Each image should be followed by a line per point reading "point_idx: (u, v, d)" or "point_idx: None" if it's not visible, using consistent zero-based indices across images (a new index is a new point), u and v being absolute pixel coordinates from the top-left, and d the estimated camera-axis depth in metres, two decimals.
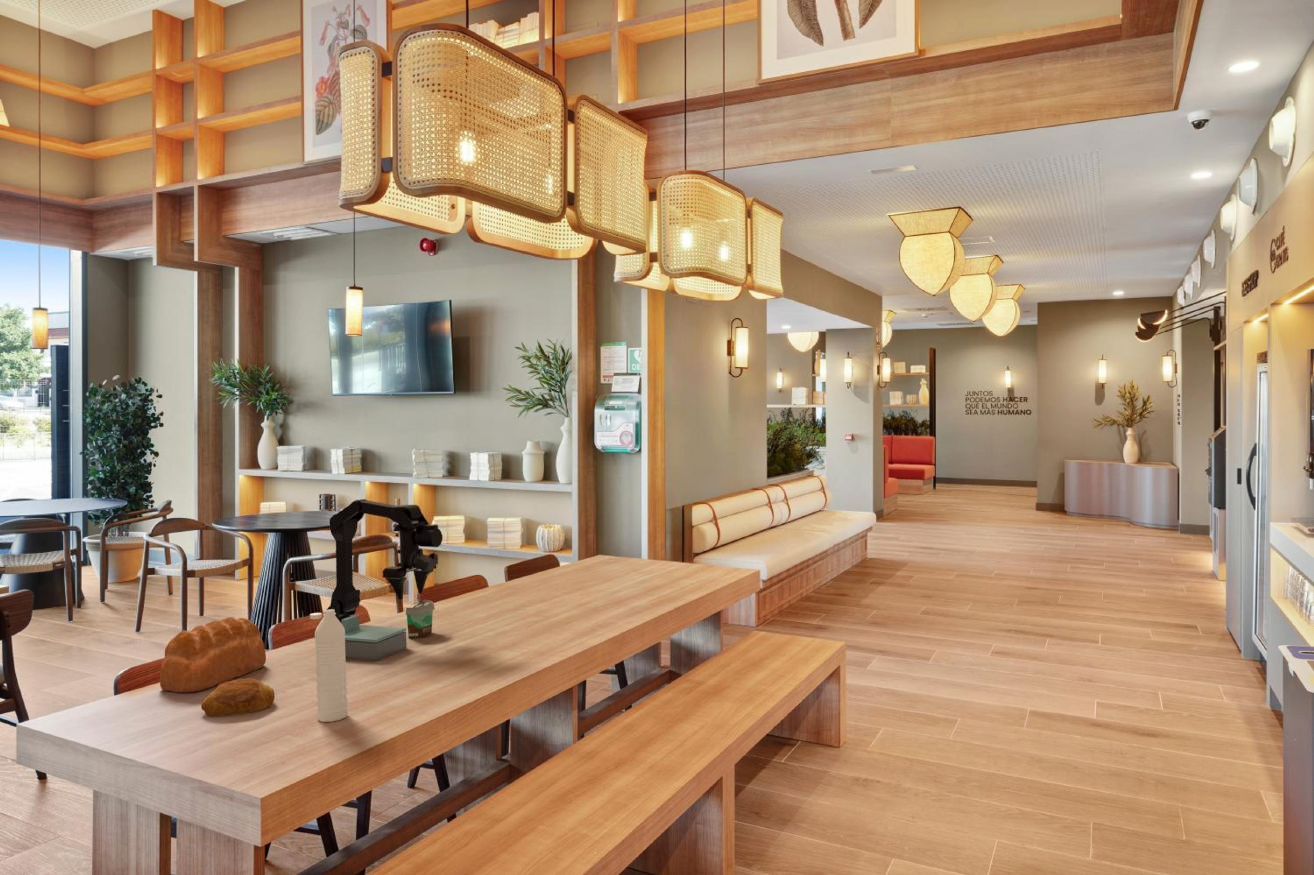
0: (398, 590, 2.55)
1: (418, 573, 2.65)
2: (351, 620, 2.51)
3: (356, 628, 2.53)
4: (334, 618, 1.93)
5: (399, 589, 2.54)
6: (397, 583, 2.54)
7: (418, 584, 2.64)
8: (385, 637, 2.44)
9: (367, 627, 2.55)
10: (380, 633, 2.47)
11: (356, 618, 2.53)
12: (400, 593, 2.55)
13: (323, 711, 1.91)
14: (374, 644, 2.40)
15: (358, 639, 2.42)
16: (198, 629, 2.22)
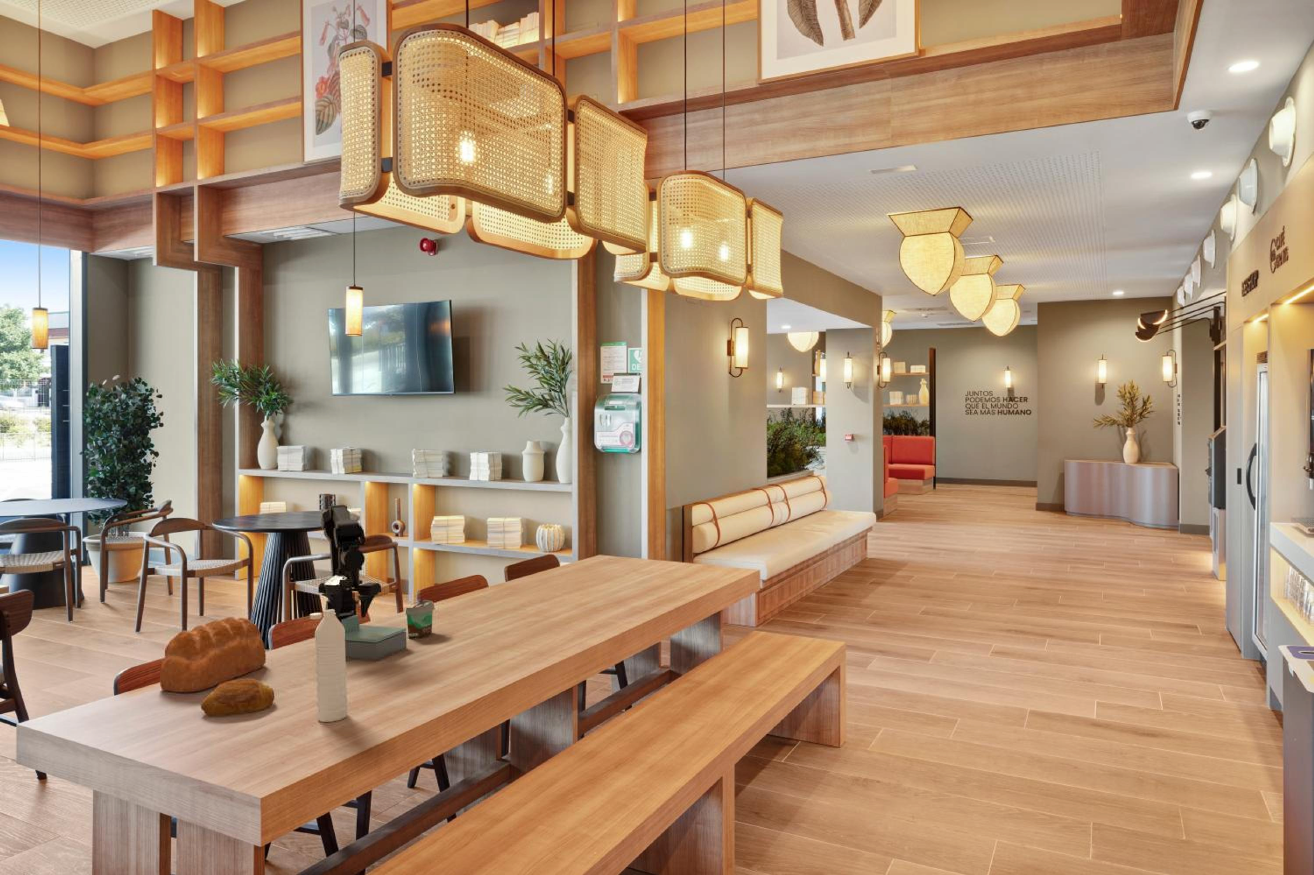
0: None
1: None
2: (351, 620, 2.51)
3: (356, 628, 2.53)
4: (334, 618, 1.93)
5: None
6: None
7: None
8: (385, 637, 2.44)
9: (367, 627, 2.55)
10: (380, 633, 2.47)
11: (356, 618, 2.53)
12: None
13: (323, 711, 1.91)
14: (374, 644, 2.40)
15: (358, 639, 2.42)
16: (198, 629, 2.22)
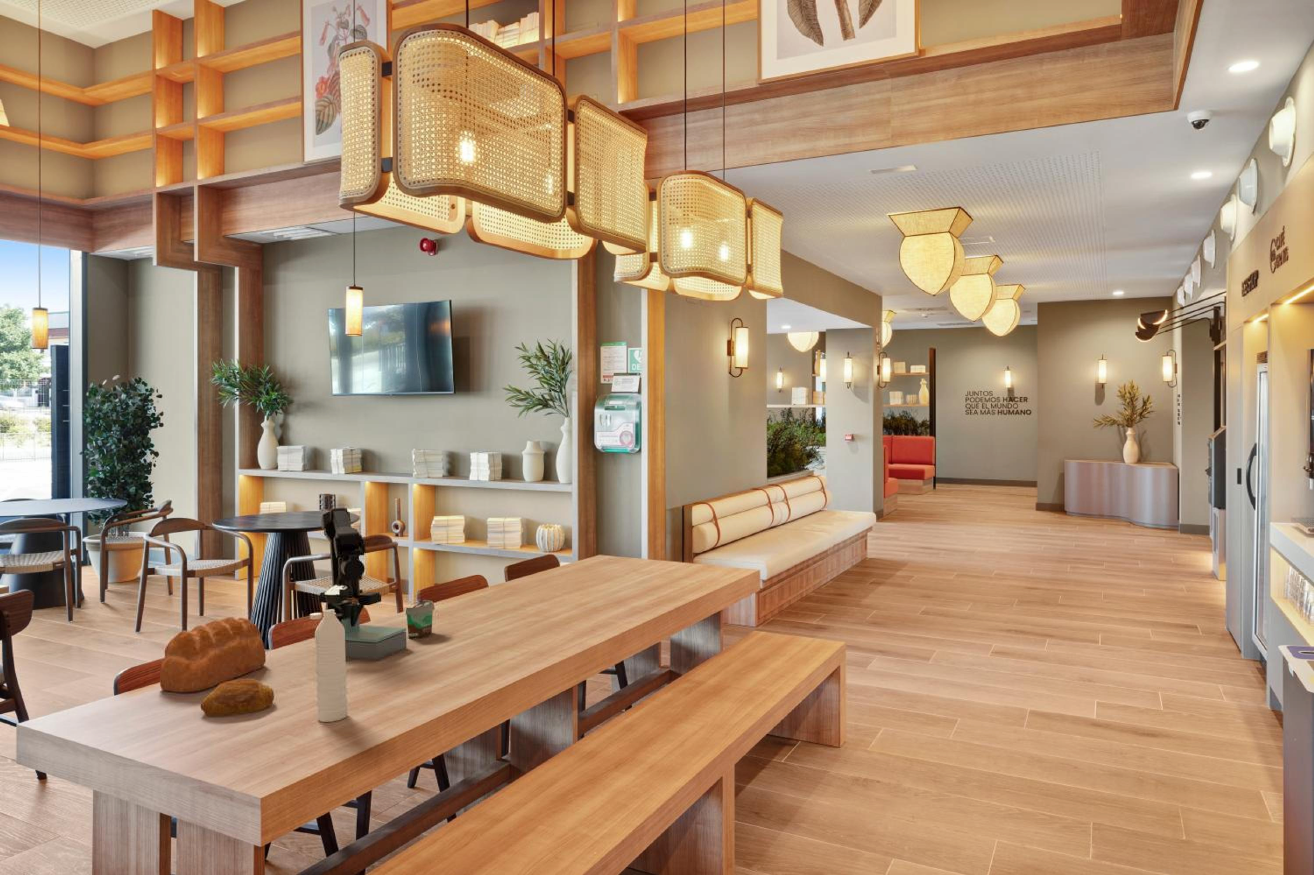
0: None
1: None
2: None
3: (356, 628, 2.53)
4: (334, 618, 1.93)
5: None
6: None
7: None
8: (385, 637, 2.44)
9: (367, 627, 2.55)
10: (380, 633, 2.47)
11: None
12: None
13: (323, 711, 1.91)
14: (374, 644, 2.40)
15: (358, 639, 2.42)
16: (198, 629, 2.22)
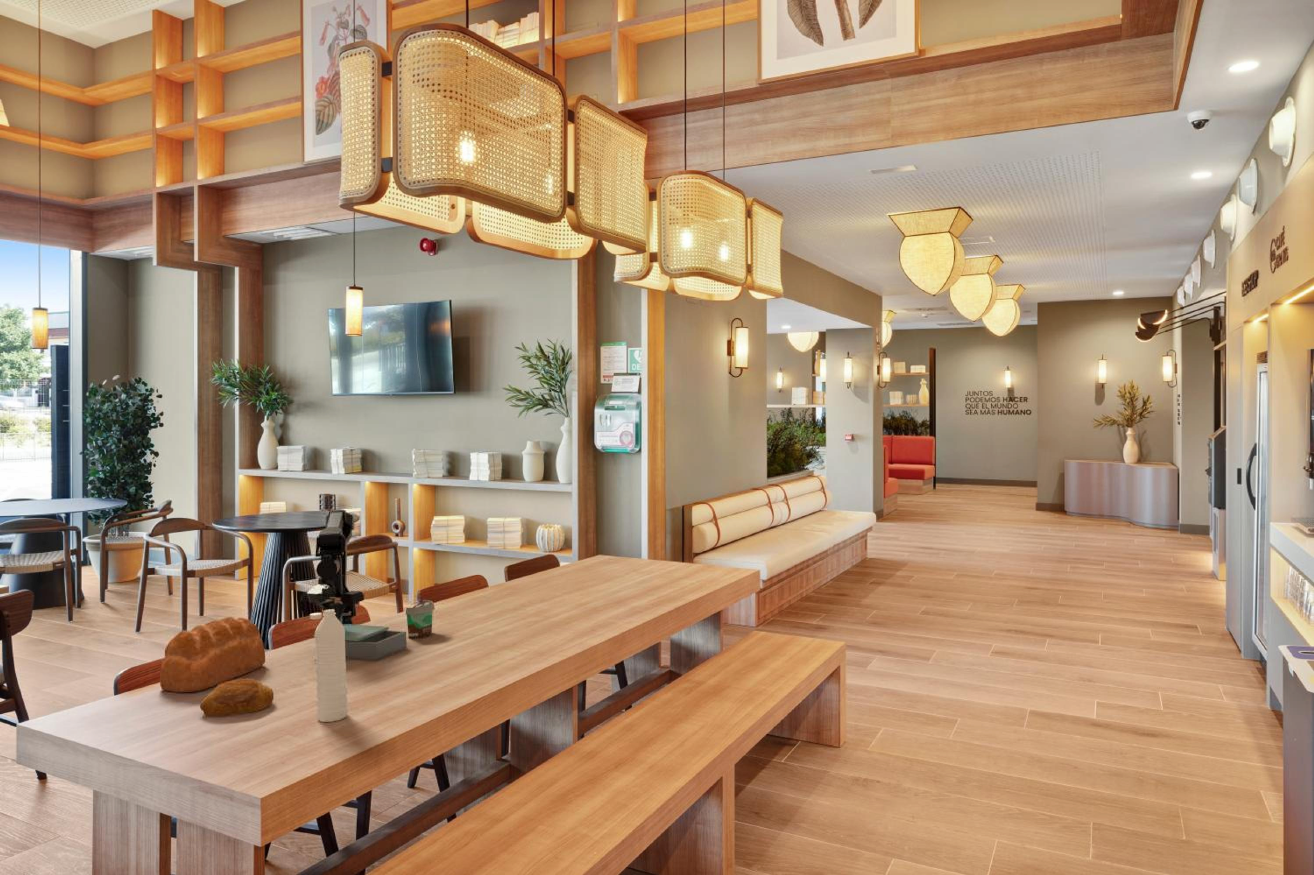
0: None
1: None
2: None
3: None
4: (334, 618, 1.93)
5: None
6: None
7: None
8: (367, 636, 2.46)
9: (350, 626, 2.57)
10: (362, 632, 2.49)
11: None
12: None
13: (323, 711, 1.91)
14: (374, 644, 2.40)
15: None
16: (198, 629, 2.22)
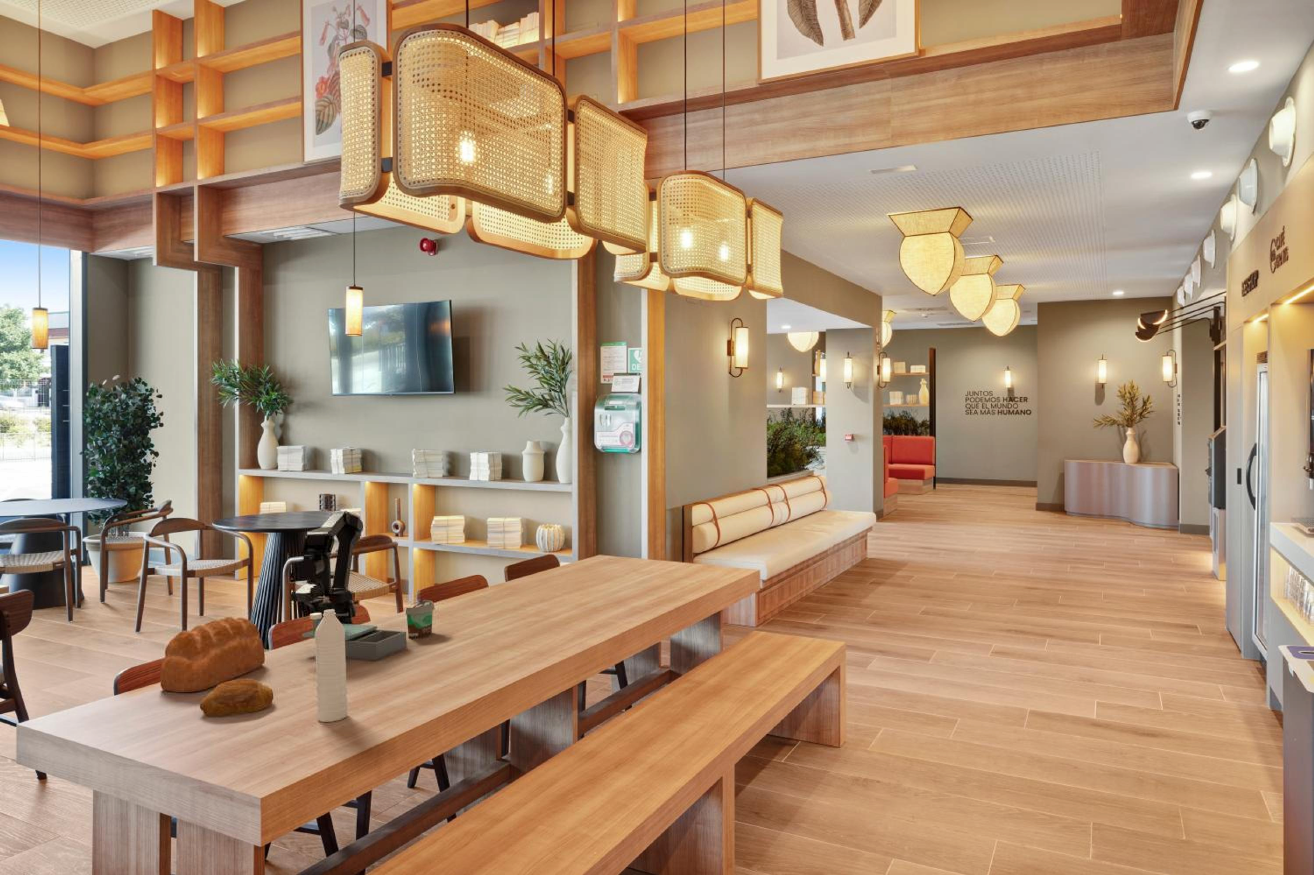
0: None
1: None
2: None
3: None
4: (334, 618, 1.93)
5: None
6: None
7: None
8: (355, 635, 2.48)
9: None
10: (351, 631, 2.51)
11: None
12: None
13: (323, 711, 1.91)
14: (374, 644, 2.40)
15: None
16: (198, 629, 2.22)
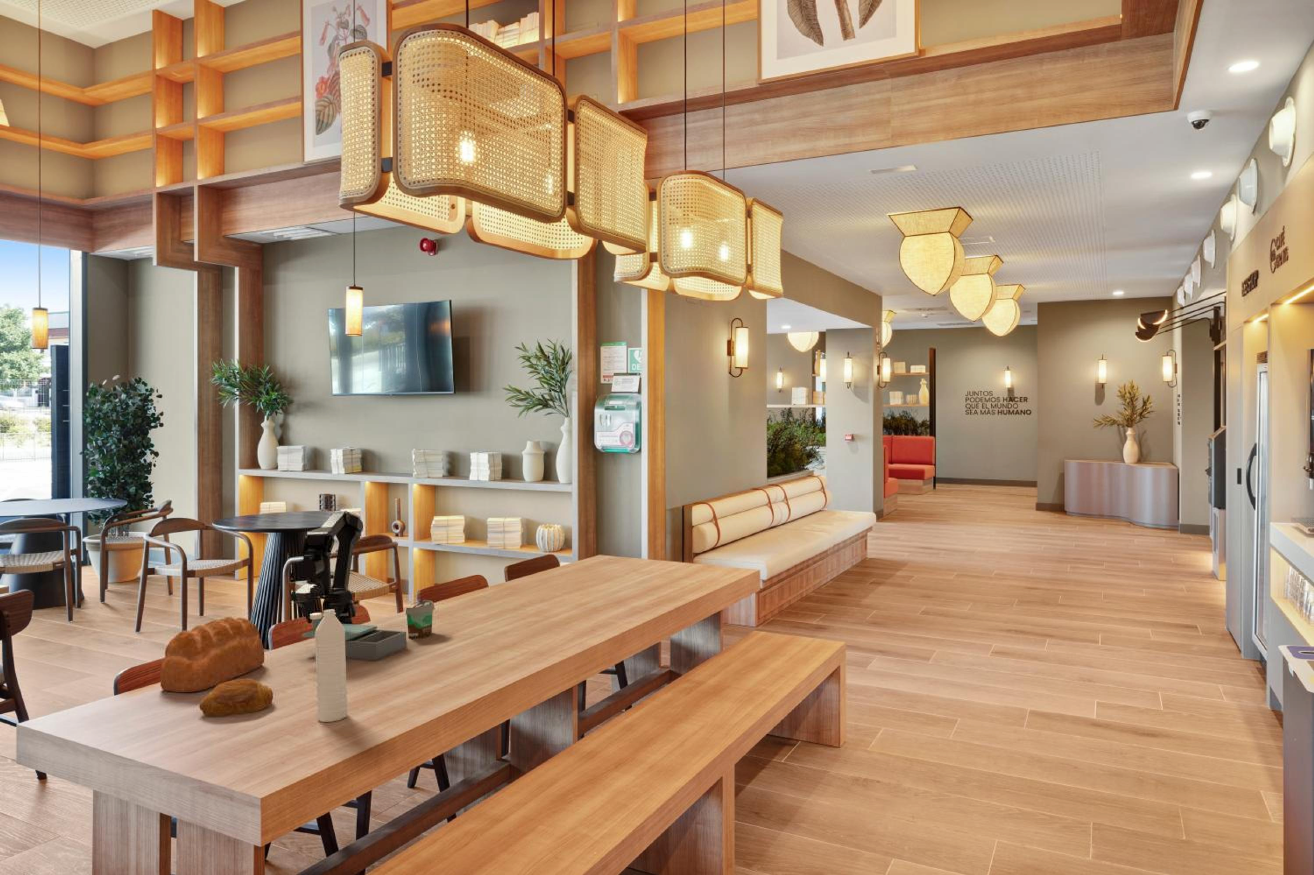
0: None
1: None
2: None
3: None
4: (334, 618, 1.93)
5: None
6: None
7: None
8: (355, 635, 2.48)
9: None
10: (351, 631, 2.51)
11: None
12: None
13: (323, 711, 1.91)
14: (374, 644, 2.40)
15: None
16: (198, 629, 2.22)
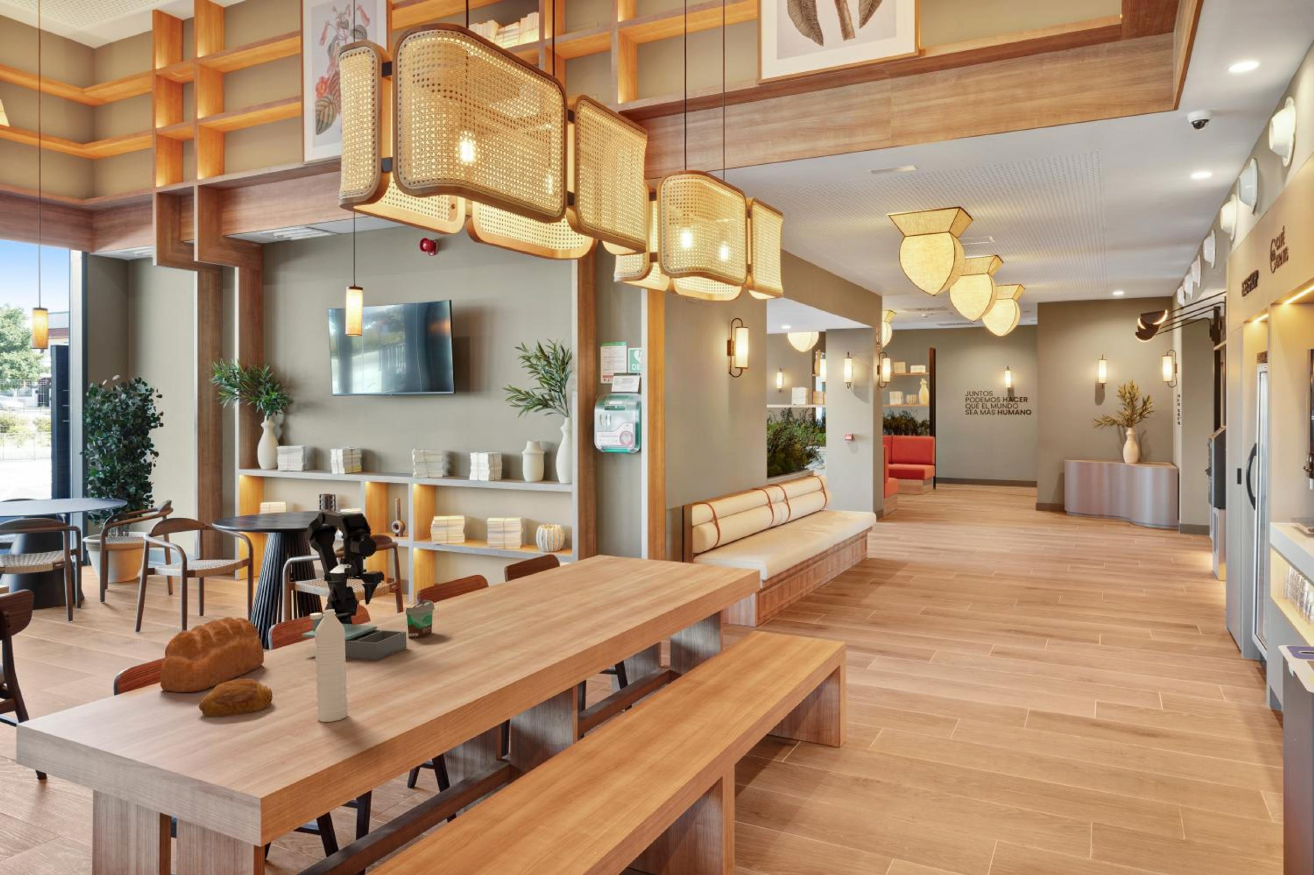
0: None
1: None
2: None
3: None
4: (334, 618, 1.93)
5: None
6: None
7: None
8: (355, 635, 2.48)
9: None
10: (351, 631, 2.51)
11: None
12: None
13: (323, 711, 1.91)
14: (374, 644, 2.40)
15: None
16: (198, 629, 2.22)
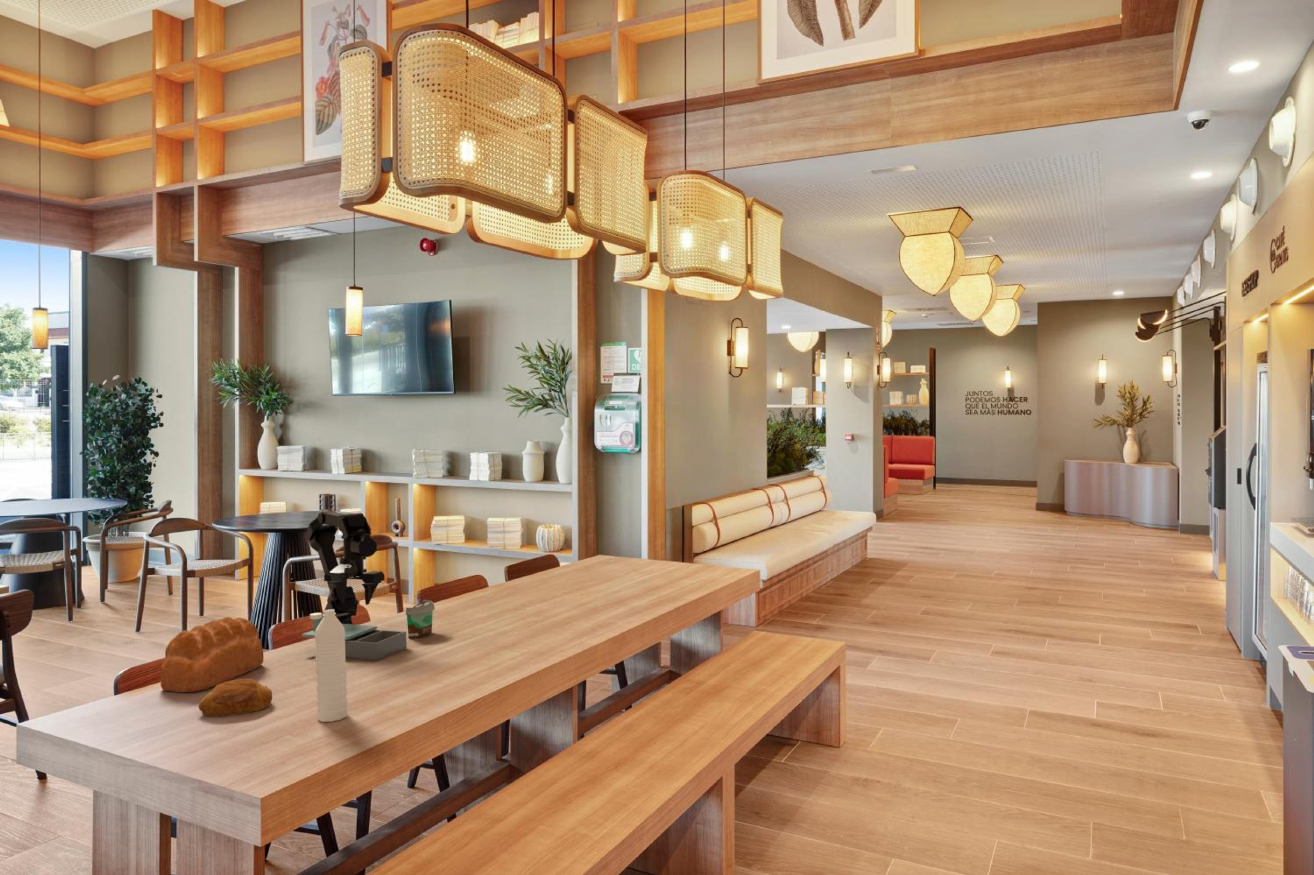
0: None
1: None
2: None
3: None
4: (334, 618, 1.93)
5: None
6: None
7: None
8: (355, 635, 2.48)
9: None
10: (351, 631, 2.51)
11: None
12: None
13: (323, 711, 1.91)
14: (374, 644, 2.40)
15: None
16: (199, 629, 2.22)
